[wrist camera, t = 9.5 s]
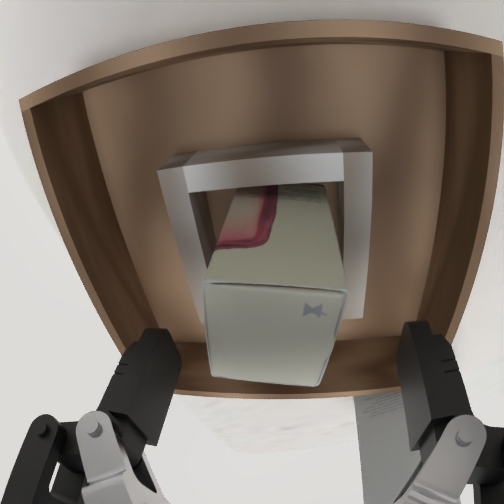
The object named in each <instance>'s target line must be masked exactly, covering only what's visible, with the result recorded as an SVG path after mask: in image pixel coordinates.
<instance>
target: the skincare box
mask: <svg viewBox="0 0 504 504" xmlns="http://www.w3.org/2000/svg"><path fill="white" fill-rule="evenodd" d="M353 397H354V404H355V412H356V421H357V431H358V440H359V450H360V460H361V471H362V483H363V498H364V504H391V503H392V502H393V500H394V499H395V497H396V496H397V495H398V493H399V492H400V490H401V489H402V487H403V486H404V485H405V483H406V482H407V480H408V479H409V477H410V475H411V474H412V472H413V471H414V469H415V468H416V466H417V464H418V463H419V461H420V460H421V455H420V450H417V451H411V452H410V446H409V438H408V430H407V423H406V416H405V410H404V404H403V398H402V392H401V391H398V392H390V393H381V394H372V395H361V396H353ZM456 504H461V502H460V497H459V498H458V500H457V503H456Z"/></svg>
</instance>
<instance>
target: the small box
mask: <svg viewBox="0 0 504 504" xmlns="http://www.w3.org/2000/svg"><path fill="white" fill-rule="evenodd" d="M348 295H349V292H348V286H347V282H346V278H345V272H344V268H343V264H342V259H341V254H340V249H339V245H338V241H337V236H336V232H335V227H334V224H333V219H332V215H331V210H330V207H329V203H328V199H327V194H326V190H325V188H324V187H323V186H316V185H308V184H299V183H295V184H280V185H266V186H253V187H242V188H237V189H236V192H235V194H234V197H233V200H232V202H231V205H230V208H229V211H228V214H227V217H226V219H225V222H224V225H223V228H222V230H221V233H220V236H219V239H218V242H217V244H216V247H215V250H214V252H213V255H212V258H211V261H210V264H209V266H208V269H207V272H206V275H205V277H204V280H203V311H204V325H205V334H206V343H207V351H208V357H209V365H210V370H211V375H212V376H214V377H221V378H229V379H236V380H247V381H253V382H264V383H273V384H284V385H298V386H312V387H315V386H318V385H319V384H320V382H321V379H322V377H323V374H324V372H325V369H326V366H327V364H328V361H329V357H330V355H331V352H332V350H333V347H334V343H335V340H336V336H337V333H338V330H339V326H340V323H341V319H342V316H343V312H344V309H345V305H346V301H347V298H348Z"/></svg>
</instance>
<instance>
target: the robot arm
mask: <svg viewBox="0 0 504 504" xmlns="http://www.w3.org/2000/svg"><path fill="white" fill-rule="evenodd" d="M396 361H397V370H398V376H399V381H400V386H401V392H402V398H403V404H404V410H405V416H406V423H407V430H408V438H409V446H410V452H411V451H417V450H420V455H421V460H420V461H419V463H418V464H417V466H416V468H415V469H414V471H413V472H412V474H411V475H410V477H409V479H408V480H407V482H406V483H405V485H404V486H403V487H402V489H401V490H400V492H399V493H398V495H397V496H396V497H395V499H394V500H393V502H392V503H391V504H456V503H457V500H458V498H459V497H460V495H461V493H462V491H463V489H464V487H465V485H466V484H473V489H474V504H504V428H500V427H490V426H486V425H484V424H483V423H482V422H481V421H480V420H479V419H478V418H476V417H475V416H474V415H473V413H472V411H471V407H470V404H469V400H468V397H467V393H466V390H465V386H464V383H463V380H462V377H461V373H460V371H459V367H458V364H457V361H456V360H455V355H454V352H453V349H452V346H451V344H450V343H449V342H448V341H447V340H446V339H445V337H444V336H443V335H442V334H436V335H433V334H432V331H431V328H430V325H429V323H428V321H427V320H418V321H409V322H405V323H404V325H403V329H402V333H401V338H400V342H399V346H398V350H397V358H396ZM181 366H182V361H181V356H180V353H179V351H178V349H177V347H176V345H175V343H174V341H173V339H172V336H171V334H170V332H169V330H168V329H166V328H146V329H145V330H144V331H143V333H142V335H141V337H140V339H139V342H138V341H134V342H133V343H132V344H131V345H130V346H129V347H128V348H127V349H126V350H125V351H124V353H123V355H122V357H121V360H120V362H119V365H118V366H117V368H116V370H115V374H114V375H113V376H112V378H111V380H110V383H109V385H108V387H107V389H106V391H105V394H104V396H103V398H102V400H101V402H100V404H99V407H98V408H97V410H96V411H92V412H89V413H87V414H85V415H84V416H83V417H82V418H81V419H80V420H79V421H76V422H62V423H59V422H58V421H57V420H56V419H55V418H54V417H53V416H51V415H48V414H44V415H41V416H39V417H37V418H36V419H35V420H34V421H33V422H32V424H31V426H30V428H29V430H28V433H27V435H26V437H25V440H24V442H23V444H22V447H21V449H20V452H19V454H18V457H17V459H16V462H15V465H14V467H13V470H12V472H11V475H10V478H9V481H8V484H7V486H6V489H5V493H4V496H3V498H2V501H1V504H170V503H169V502H168V501H167V499H166V498H165V497H164V495H163V494H162V492H161V490H160V487H159V485H158V483H157V481H156V479H155V476H154V474H153V472H152V469H151V467H150V465H149V462H148V461H147V458H146V455H145V453H144V452H143V450H144V447H145V444H148V445H153V446H157V443H158V440H159V437H160V433H161V430H162V427H163V424H164V421H165V418H166V415H167V412H168V408H169V405H170V402H171V399H172V396H173V393H174V390H175V387H176V384H177V381H178V378H179V375H180V372H181ZM57 462H58V463H60V466H59V469H58V472H57V475H56V478H55V481H54V484H53V487H52V490H51V492H49V484H50V481H51V478H52V475H53V472H54V469H55V466H56V464H57Z"/></svg>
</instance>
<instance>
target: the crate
mask: <svg viewBox="0 0 504 504" xmlns="http://www.w3.org/2000/svg"><path fill="white" fill-rule="evenodd" d="M19 103H20V108H21V112H22V116H23V120H24V125H25V128H26V132H27V136H28V140H29V143H30V147H31V150H32V154H33V157H34V161H35V164H36V167H37V170H38V173H39V176H40V179H41V182H42V185H43V188H44V191H45V194H46V197H47V200H48V202H49V205H50V208H51V211H52V213H53V216H54V218H55V221H56V223H57V226H58V229H59V231H60V233H61V236H62V238H63V241H64V243H65V245H66V248H67V250H68V252H69V255H70V257H71V259H72V261H73V264H74V266H75V268H76V270H77V272H78V274H79V276H80V279H81V280H82V283H83V285H84V287H85V289H86V291H87V293H88V295H89V297H90V298H91V301H92V303H93V305H94V307H95V308H96V310H97V312H98V314H99V316H100V318H101V320H102V321H103V323H104V325H105V327H106V329H107V331H108V332H109V334H110V336H111V338H112V340H113V341H114V343H115V345H116V346H117V348H118V350H119V352H120V353H121V355H123V353H124V351H125V350H126V349H127V348H128V347H129V346H130V345H131V344H132V343H133V342H134V341H138V342H139V339H140V337H141V335H142V333H143V331H144V330H145V329H146V328H166V329H168V330H169V332H170V334H171V336H172V339H173V341H174V343H175V345H176V347H177V349H178V351H179V353H180V356H181V361H182V366H181V372H180V375H179V378H178V381H177V384H176V387H175V390H174V393H173V394H181V395H192V396H205V397H221V398H243V399H310V398H332V397H348V396H361V395H372V394H381V393H390V392H398V391H401V386H400V381H399V376H398V370H397V361H396V358H397V350H398V346H399V342H400V338H401V333H402V329H403V325H404V323H405V322H409V321H418V320H427V321H428V323H429V325H430V328H431V331H432V334H433V335H436V334H442V335H443V336H444V337H445V339H446V340H447V341H448V342H449V343H450V344H452V342H453V339H454V337H455V334H456V332H457V329H458V327H459V324H460V321H461V319H462V316H463V313H464V310H465V308H466V305H467V302H468V299H469V296H470V293H471V290H472V287H473V284H474V281H475V277H476V274H477V271H478V267H479V264H480V260H481V256H482V253H483V249H484V245H485V241H486V237H487V233H488V228H489V224H490V219H491V214H492V209H493V204H494V198H495V193H496V187H497V180H498V173H499V165H500V157H501V147H502V136H503V121H504V58H503V44H502V41H498V40H495V39H491V38H487V37H483V36H479V35H474V34H470V33H465V32H460V31H455V30H450V29H444V28H438V27H432V26H425V25H417V24H409V23H399V22H387V21H371V20H306V21H290V22H278V23H268V24H259V25H251V26H243V27H237V28H230V29H224V30H219V31H213V32H208V33H203V34H198V35H193V36H189V37H185V38H180V39H176V40H172V41H168V42H164V43H161V44H157V45H153V46H150V47H146V48H143V49H140V50H136V51H133V52H130V53H127V54H124V55H121V56H118V57H115V58H112V59H109V60H107V61H104V62H101V63H98V64H96V65H93V66H91V67H88V68H86V69H83V70H81V71H78V72H76V73H73V74H71V75H69V76H67V77H64V78H62V79H60V80H58V81H55V82H53V83H51V84H49V85H47V86H45V87H43V88H41V89H39V90H37V91H35V92H33V93H31V94H29V95H27V96H25V97H23V98H21V99H19ZM295 183H299V184H308V185H316V186H323V187H324V188H325V190H326V194H327V199H328V203H329V207H330V210H331V215H332V219H333V224H334V227H335V232H336V236H337V241H338V245H339V249H340V254H341V259H342V264H343V268H344V272H345V278H346V282H347V286H348V292H349V295H348V298H347V301H346V305H345V309H344V312H343V316H342V319H341V323H340V326H339V330H338V333H337V336H336V340H335V343H334V347H333V350H332V352H331V355H330V357H329V361H328V364H327V366H326V369H325V372H324V374H323V377H322V379H321V382H320V384H319V385H318V386H315V387H312V386H298V385H284V384H273V383H264V382H253V381H247V380H236V379H229V378H221V377H214V376H212V375H211V370H210V365H209V357H208V351H207V343H206V334H205V325H204V311H203V280H204V277H205V275H206V272H207V269H208V266H209V264H210V261H211V258H212V255H213V252H214V250H215V247H216V244H217V242H218V239H219V236H220V233H221V230H222V228H223V225H224V222H225V219H226V217H227V214H228V211H229V208H230V205H231V202H232V200H233V197H234V194H235V192H236V189H237V188H242V187H253V186H266V185H280V184H295Z"/></svg>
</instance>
